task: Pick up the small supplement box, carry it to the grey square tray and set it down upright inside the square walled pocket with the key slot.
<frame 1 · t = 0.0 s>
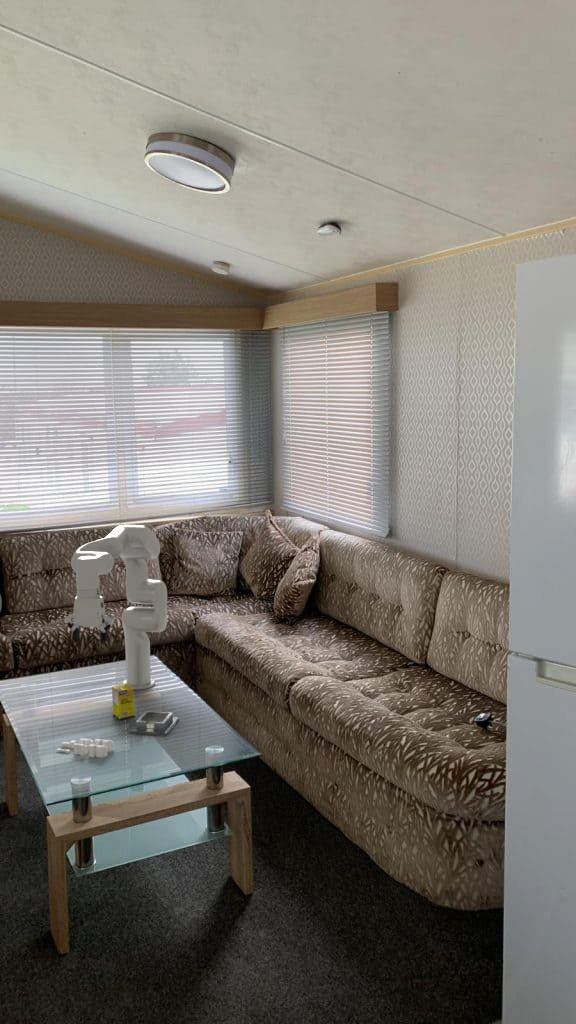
hand: (90, 642, 289), 31 cm above the table, tool pointing down, fingers open, 9 cm apart
modular blocks: (84, 752, 276), on the table
supplement box: (123, 717, 305), on the table
grey square tray: (154, 726, 296), on the table
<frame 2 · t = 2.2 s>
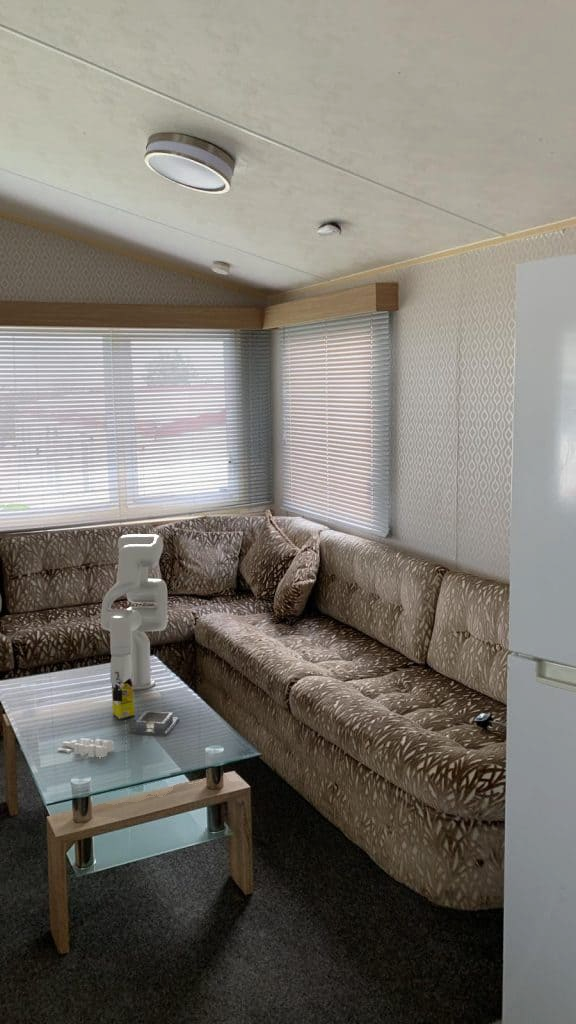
hand: (122, 696, 303), 8 cm above the table, tool pointing down, fingers open, 9 cm apart
supplement box: (123, 716, 305), on the table, touching gripper
everything else where it was.
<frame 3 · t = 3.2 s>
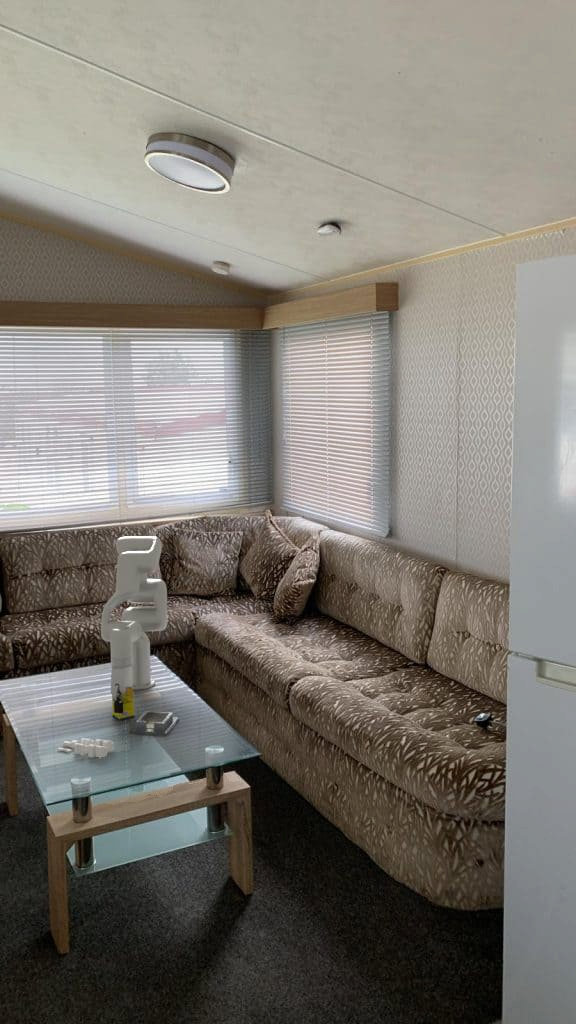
hand: (123, 708, 304), 3 cm above the table, tool pointing down, fingers closed on supplement box, 8 cm apart
supplement box: (123, 717, 305), on the table, touching gripper
everything else where it was.
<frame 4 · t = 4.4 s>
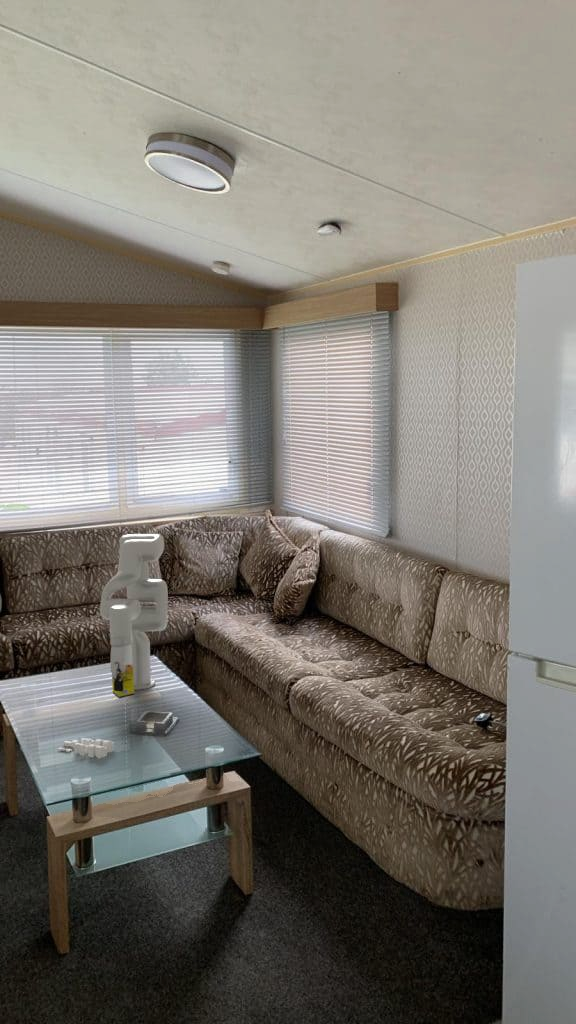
hand: (123, 685, 304), 11 cm above the table, tool pointing down, fingers closed on supplement box, 8 cm apart
supplement box: (123, 694, 305), point 8 cm above the table, touching gripper
everything else where it was.
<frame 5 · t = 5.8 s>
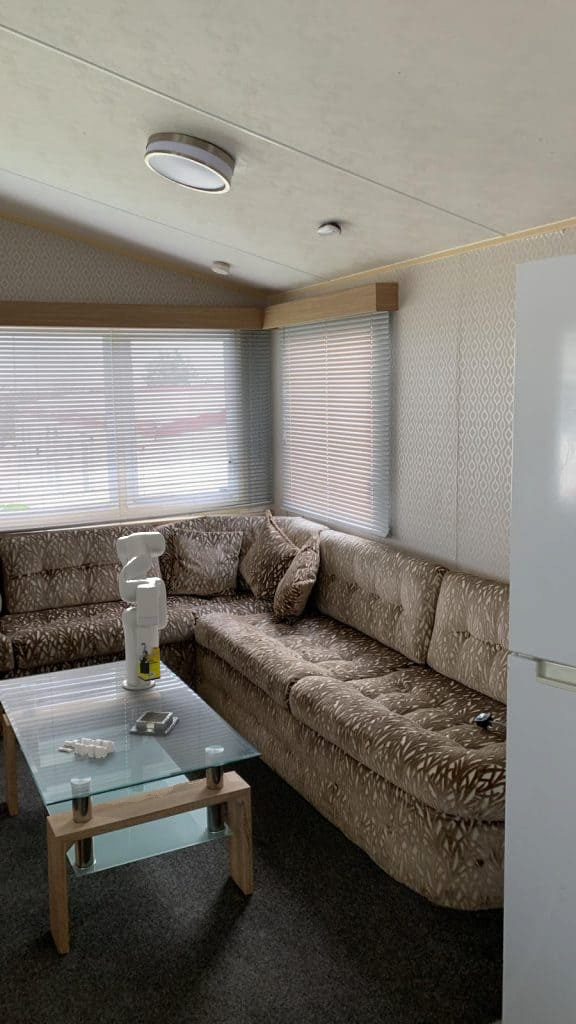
hand: (149, 669, 293), 20 cm above the table, tool pointing down, fingers closed on supplement box, 8 cm apart
supplement box: (149, 678, 294), point 17 cm above the table, touching gripper
everything else where it was.
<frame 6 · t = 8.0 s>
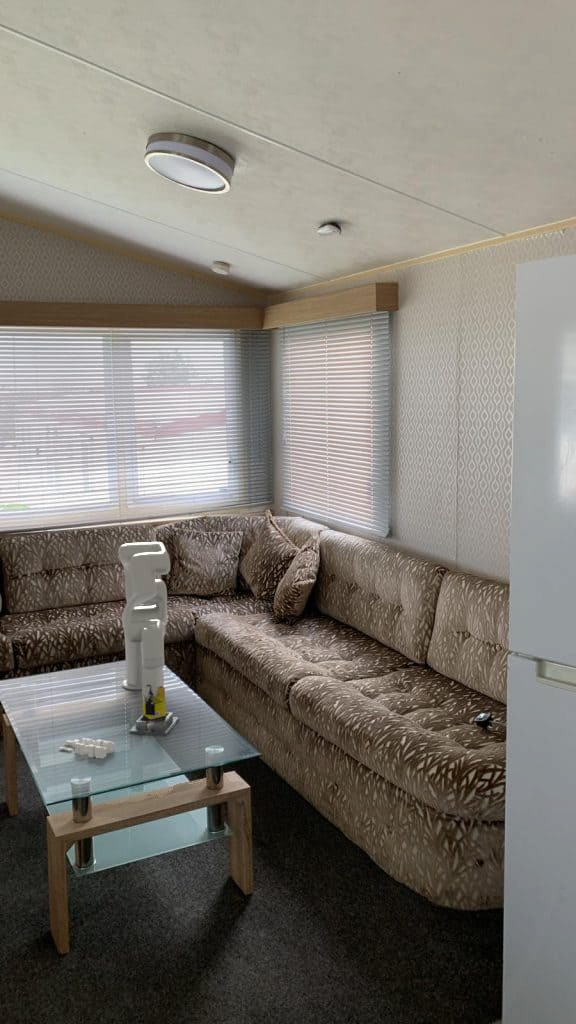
hand: (154, 709, 295), 6 cm above the table, tool pointing down, fingers closed on supplement box, 8 cm apart
supplement box: (154, 717, 295), point 3 cm above the table, touching grey square tray, gripper
everything else where it was.
when the fingers open (6 cm above the table, at t = 8.4 s): supplement box stays where it is, resting on grey square tray.
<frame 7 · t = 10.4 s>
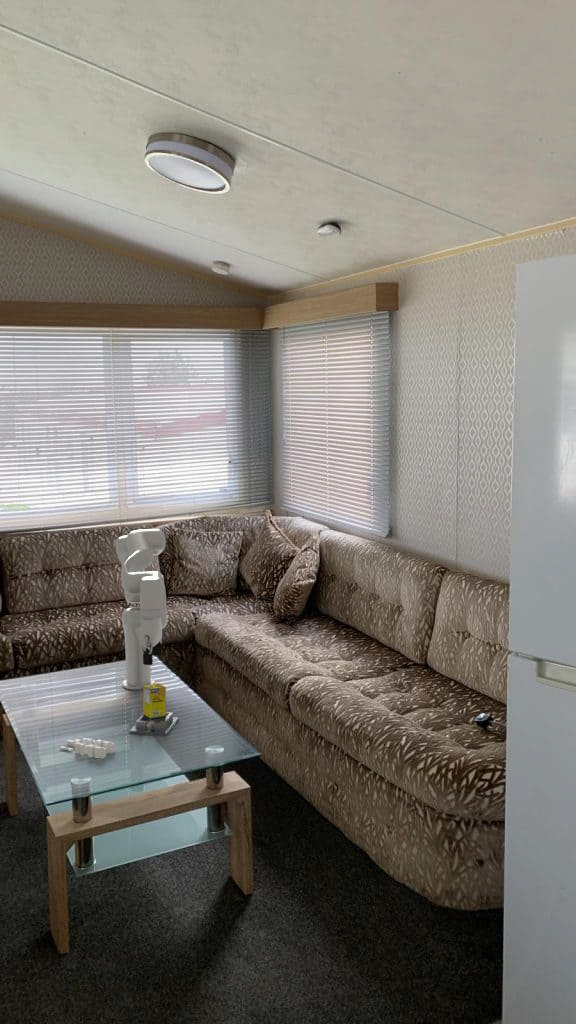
hand: (152, 659, 296), 23 cm above the table, tool pointing down, fingers open, 9 cm apart
supplement box: (154, 717, 295), point 3 cm above the table, touching grey square tray
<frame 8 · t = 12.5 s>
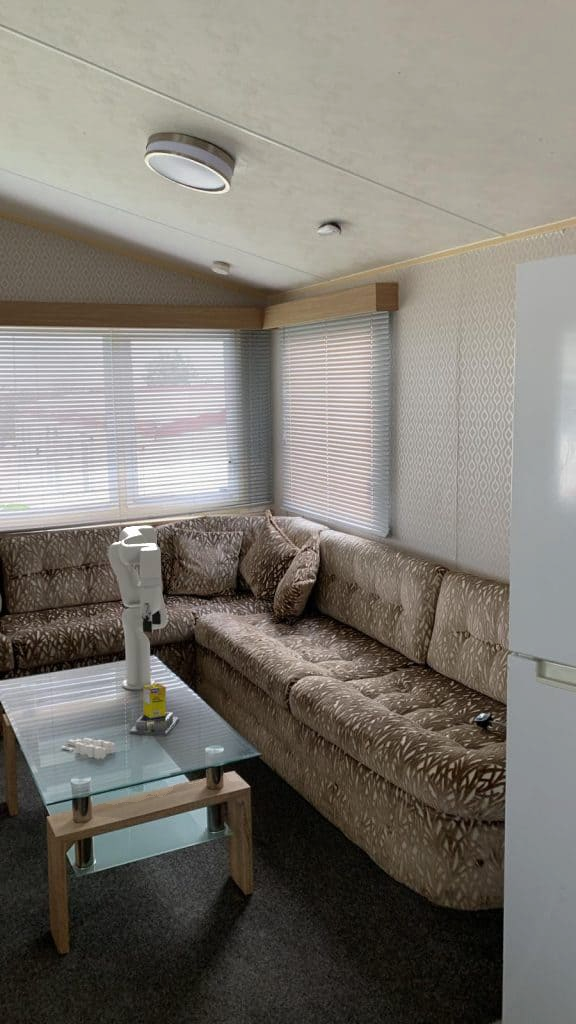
hand: (152, 627, 309), 30 cm above the table, tool pointing down, fingers open, 9 cm apart
at the end: supplement box 0.0 cm off-centre on the grey square tray, point 3.3 cm above the grey square tray's base; supplement box tilted 6°; the gripper is holding nothing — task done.
